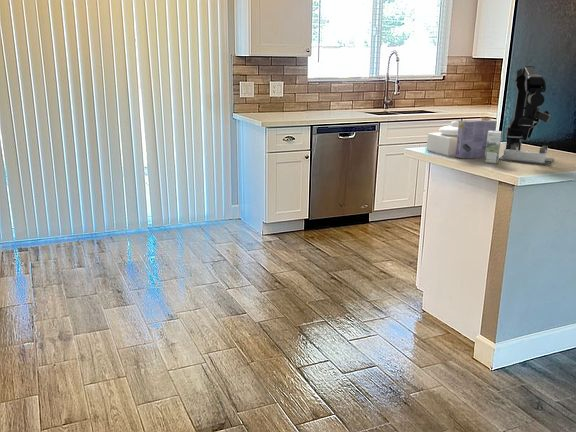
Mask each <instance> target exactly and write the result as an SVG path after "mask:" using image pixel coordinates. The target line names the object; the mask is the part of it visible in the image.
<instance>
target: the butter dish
mask: <svg viewBox="0 0 576 432" xmlns="http://www.w3.org/2000/svg"><path fill="white" fill-rule="evenodd" d="M458 126H459V121H457V120H452V121H451V122H450V124H449V125H445V126H440V127H439V128H438V132H428V133H427V140H426V151H428V152H432V153H434V154H435V153H436V154H438V155H439V154H440V155H443V156H445V157H446V156H447V157H453V156H454V157H456V156H455V155H456V146H457V136H458Z"/></svg>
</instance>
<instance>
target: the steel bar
mask: <svg viewBox="0 0 576 432" xmlns="http://www.w3.org/2000/svg"><path fill="white" fill-rule="evenodd" d="M505 149H506V148H505ZM505 149H504V150H503V154H502V156H503V159H509V160H519V161H528V162H537V163H545V162H546V158H547V156H548V152H547V153H539V151H538V152H537V151H526V150H520V151H519V150H509V149H506V150H505Z"/></svg>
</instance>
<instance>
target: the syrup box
mask: <svg viewBox="0 0 576 432" xmlns="http://www.w3.org/2000/svg"><path fill="white" fill-rule="evenodd" d="M502 135H503V131H501V130H495V131H491V130H489V131H488V136H487V144H486V153H485V158H484V161H483V162H484V164H494V165H497V164H498V163H499V160H498V159H499V158H500V149H501V143H502V141H501V140H502Z"/></svg>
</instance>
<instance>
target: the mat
mask: <svg viewBox="0 0 576 432" xmlns="http://www.w3.org/2000/svg"><path fill="white" fill-rule="evenodd" d="M501 160H502V162H503V161H504V162H511V161H512V162H513V163H522V164H531V165H539V166H540V165H541V166H549V165H551V164H552V162H547V161H546V162H545V163H537V162H528V161H519V160H509V159H503V157H502V156H499V159H498V161H501Z"/></svg>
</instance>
